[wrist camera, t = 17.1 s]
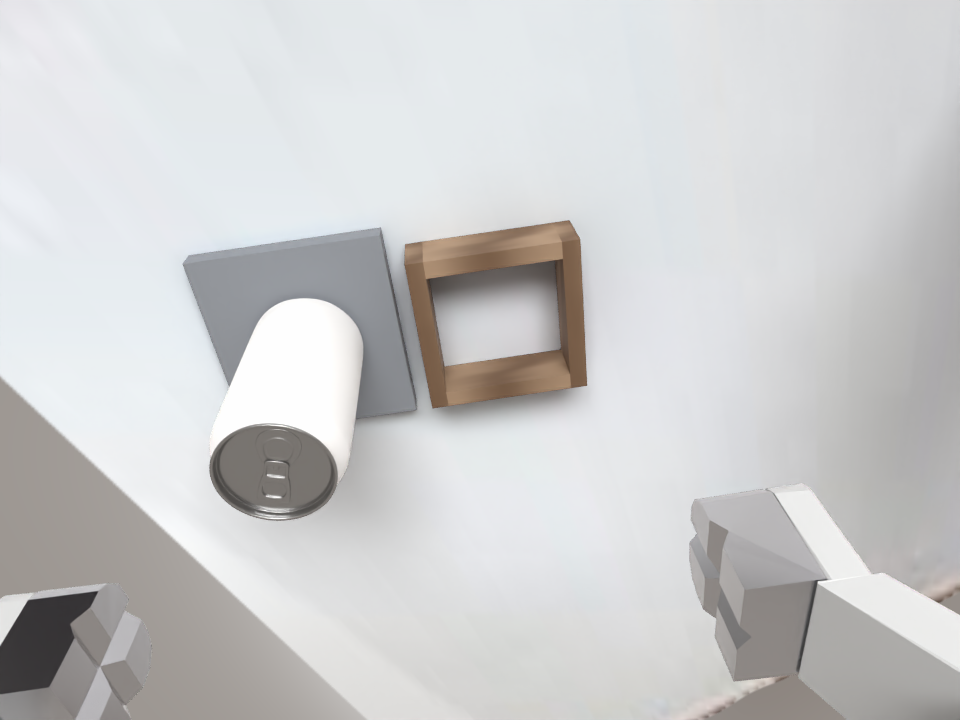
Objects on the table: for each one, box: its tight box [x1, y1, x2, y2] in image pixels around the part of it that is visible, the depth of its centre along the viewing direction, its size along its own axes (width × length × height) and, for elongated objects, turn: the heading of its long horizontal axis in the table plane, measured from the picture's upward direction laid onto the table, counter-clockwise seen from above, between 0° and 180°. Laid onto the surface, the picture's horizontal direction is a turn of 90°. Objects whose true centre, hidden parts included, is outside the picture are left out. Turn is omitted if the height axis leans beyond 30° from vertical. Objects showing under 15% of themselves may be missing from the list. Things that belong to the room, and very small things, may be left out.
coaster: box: [183, 228, 416, 419], centre depth 41 cm, size 11×12×1 cm
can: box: [209, 298, 363, 521], centre depth 36 cm, size 6×6×12 cm
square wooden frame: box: [405, 221, 587, 408], centre depth 41 cm, size 10×10×3 cm
